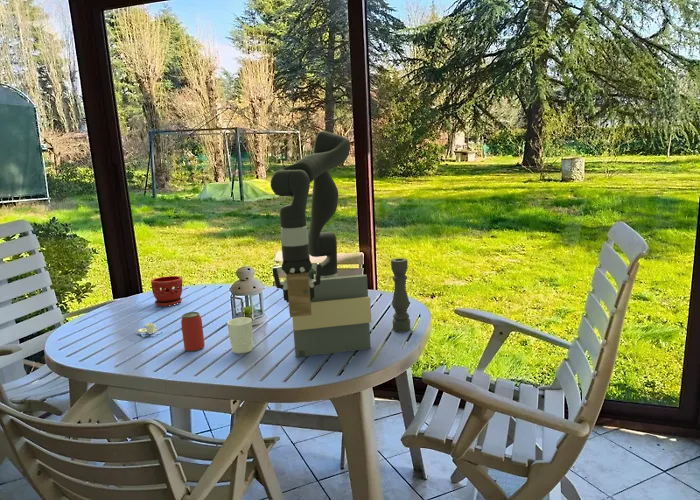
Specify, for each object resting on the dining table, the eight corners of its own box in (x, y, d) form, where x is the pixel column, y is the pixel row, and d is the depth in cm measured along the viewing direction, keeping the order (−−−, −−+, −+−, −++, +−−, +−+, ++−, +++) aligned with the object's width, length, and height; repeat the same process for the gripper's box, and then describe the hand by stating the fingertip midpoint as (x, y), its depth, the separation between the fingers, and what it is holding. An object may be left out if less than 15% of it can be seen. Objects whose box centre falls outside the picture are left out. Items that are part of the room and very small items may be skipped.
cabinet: (288, 307, 145) (285, 268, 142) (309, 305, 145) (306, 266, 143) (290, 318, 134) (286, 276, 132) (312, 316, 135) (308, 274, 133)
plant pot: (178, 307, 215) (175, 281, 213) (149, 309, 215) (145, 282, 213) (188, 299, 228) (185, 274, 225) (161, 300, 228) (157, 275, 226)
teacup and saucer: (135, 335, 183) (133, 324, 182) (155, 329, 189) (154, 319, 188) (145, 340, 177) (143, 329, 176) (166, 333, 183) (164, 323, 182)
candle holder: (409, 332, 169) (407, 261, 164) (391, 331, 170) (389, 261, 165) (411, 326, 175) (408, 257, 170) (393, 325, 176) (391, 258, 171)
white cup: (242, 356, 156) (239, 326, 154) (225, 352, 160) (222, 323, 158) (259, 347, 163) (256, 318, 161) (242, 343, 167) (239, 315, 165)
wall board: (294, 347, 160) (288, 277, 156) (365, 339, 164) (362, 270, 160) (296, 361, 149) (290, 285, 145) (372, 352, 153) (369, 278, 148)
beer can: (187, 345, 168) (183, 312, 166) (206, 343, 169) (202, 310, 166) (182, 352, 162) (178, 318, 160) (202, 351, 162) (198, 316, 160)
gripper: (268, 247, 131) (274, 307, 134) (322, 242, 133) (326, 302, 136) (268, 242, 138) (273, 299, 141) (319, 238, 140) (323, 294, 143)
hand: (299, 300), depth 138 cm, fingers closed on cabinet, 6 cm apart
